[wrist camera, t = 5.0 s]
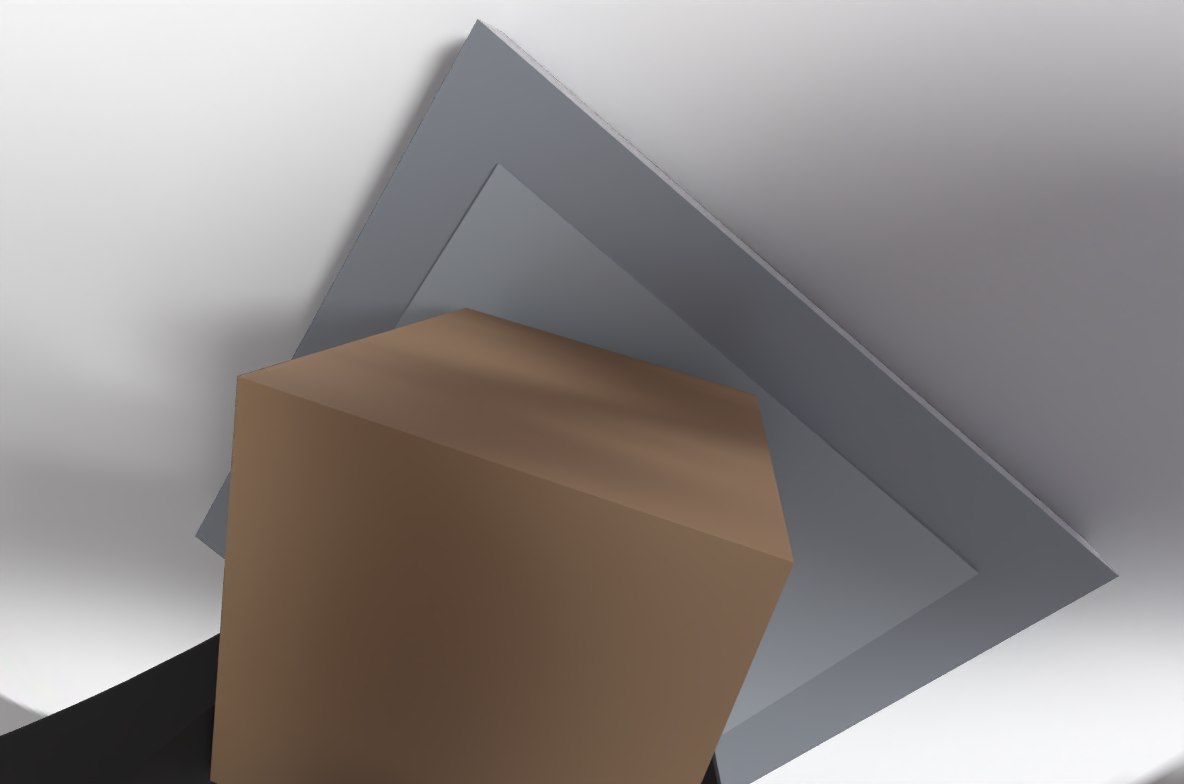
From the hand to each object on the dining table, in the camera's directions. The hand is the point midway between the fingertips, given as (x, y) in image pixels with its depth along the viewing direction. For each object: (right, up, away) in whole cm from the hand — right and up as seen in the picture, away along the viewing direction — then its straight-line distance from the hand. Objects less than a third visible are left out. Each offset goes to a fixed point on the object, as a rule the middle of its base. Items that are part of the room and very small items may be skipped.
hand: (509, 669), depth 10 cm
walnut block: (+1, +3, +1) cm, 3 cm away
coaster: (+1, +2, +4) cm, 4 cm away
